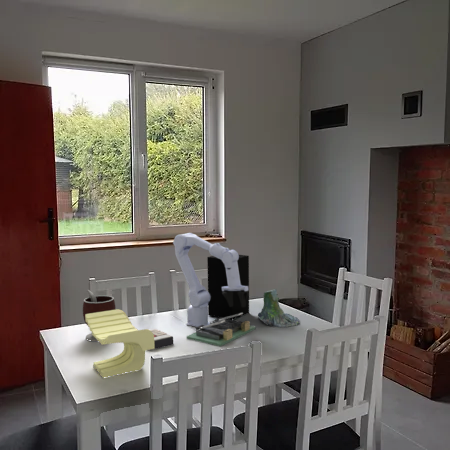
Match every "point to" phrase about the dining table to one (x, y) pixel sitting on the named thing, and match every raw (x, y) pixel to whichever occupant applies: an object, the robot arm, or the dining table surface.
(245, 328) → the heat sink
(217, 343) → the circuit board
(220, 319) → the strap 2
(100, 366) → the slatted curved stool
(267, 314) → the tree stump
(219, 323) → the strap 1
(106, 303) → the mate gourd
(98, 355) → the dining table surface
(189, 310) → the robot arm
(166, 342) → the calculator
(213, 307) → the video game console
